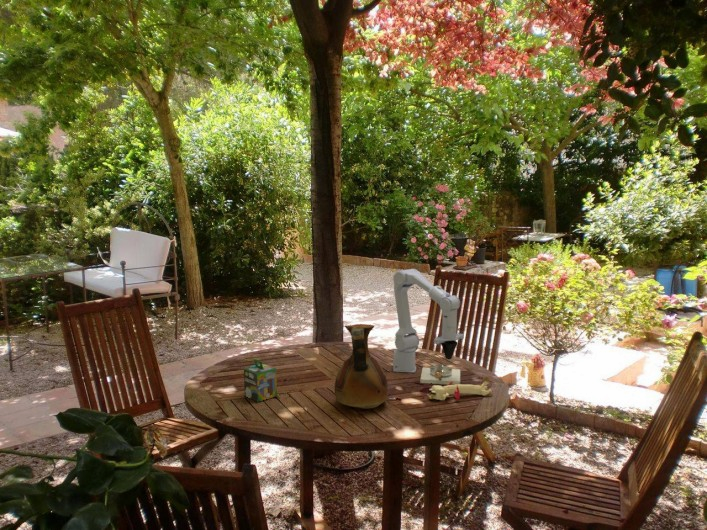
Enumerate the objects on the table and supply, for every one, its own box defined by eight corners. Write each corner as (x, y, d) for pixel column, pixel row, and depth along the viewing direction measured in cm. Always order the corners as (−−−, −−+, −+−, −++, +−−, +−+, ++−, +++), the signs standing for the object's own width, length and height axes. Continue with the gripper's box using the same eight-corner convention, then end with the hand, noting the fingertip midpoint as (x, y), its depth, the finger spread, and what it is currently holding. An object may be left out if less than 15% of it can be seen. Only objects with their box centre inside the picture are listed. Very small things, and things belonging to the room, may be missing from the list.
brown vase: (385, 394, 233) (386, 318, 229) (390, 414, 213) (391, 332, 209) (334, 395, 232) (334, 319, 228) (334, 415, 212) (334, 332, 208)
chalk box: (277, 397, 230) (277, 359, 228) (257, 403, 224) (257, 364, 222) (263, 390, 237) (262, 354, 235) (243, 396, 230) (242, 359, 228)
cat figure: (482, 393, 239) (423, 393, 232) (484, 372, 238) (425, 371, 231) (494, 402, 229) (432, 402, 223) (496, 380, 228) (435, 380, 222)
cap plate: (420, 382, 247) (420, 379, 246) (422, 370, 262) (422, 367, 262) (460, 385, 244) (460, 381, 244) (460, 372, 260) (460, 369, 259)
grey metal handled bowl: (431, 369, 258) (431, 359, 258) (452, 371, 256) (452, 360, 255) (426, 382, 241) (426, 371, 241) (449, 384, 239) (449, 373, 238)
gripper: (443, 330, 235) (442, 364, 237) (469, 325, 244) (468, 358, 246) (430, 326, 241) (429, 359, 243) (457, 322, 249) (456, 353, 251)
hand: (448, 358), depth 245 cm, fingers closed
